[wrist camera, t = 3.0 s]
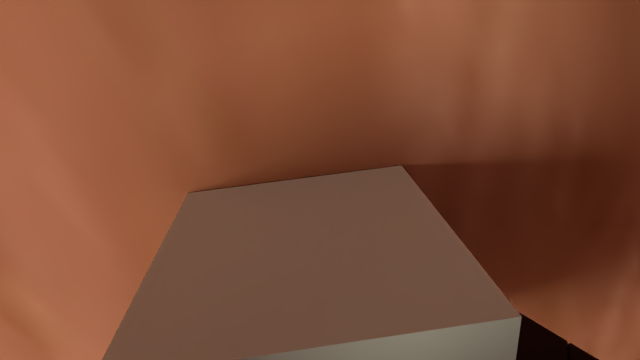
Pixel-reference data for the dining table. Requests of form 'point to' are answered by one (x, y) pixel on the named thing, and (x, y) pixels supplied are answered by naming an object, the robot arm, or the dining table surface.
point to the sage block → (316, 278)
